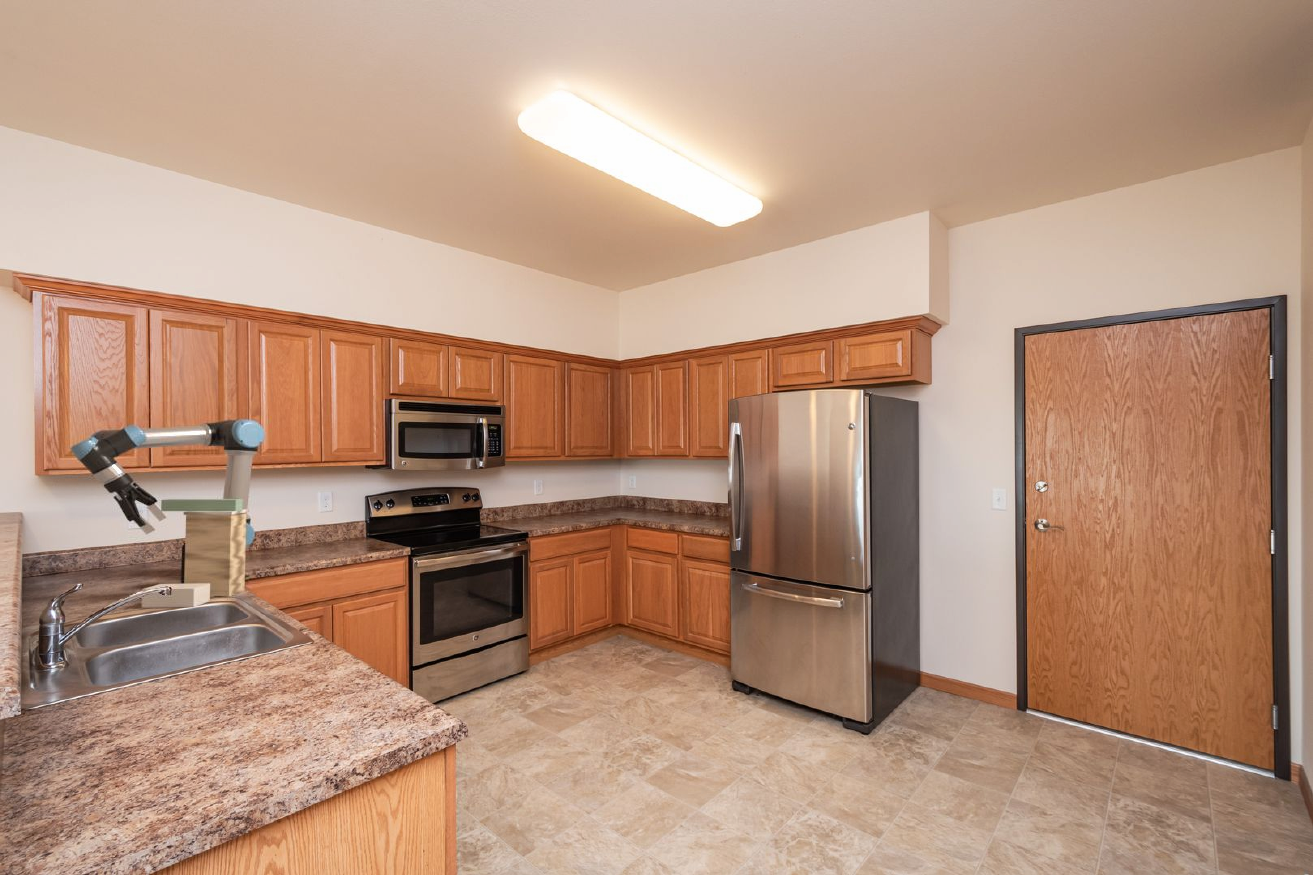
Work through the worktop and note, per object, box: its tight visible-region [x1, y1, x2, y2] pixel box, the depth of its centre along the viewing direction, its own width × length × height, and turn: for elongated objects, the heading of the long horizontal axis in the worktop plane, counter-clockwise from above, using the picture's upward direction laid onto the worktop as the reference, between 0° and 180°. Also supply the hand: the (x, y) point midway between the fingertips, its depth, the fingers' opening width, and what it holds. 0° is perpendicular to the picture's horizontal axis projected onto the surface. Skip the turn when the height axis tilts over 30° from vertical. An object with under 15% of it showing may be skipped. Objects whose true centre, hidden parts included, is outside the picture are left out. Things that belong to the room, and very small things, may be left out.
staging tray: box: [141, 583, 211, 609], centre depth 199 cm, size 8×16×6 cm, turn 95°
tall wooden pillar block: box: [183, 508, 249, 598], centre depth 213 cm, size 10×16×30 cm, turn 95°
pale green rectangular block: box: [160, 498, 243, 512], centre depth 213 cm, size 4×25×4 cm, turn 95°
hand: (157, 525), depth 216 cm, fingers open, 13 cm apart
